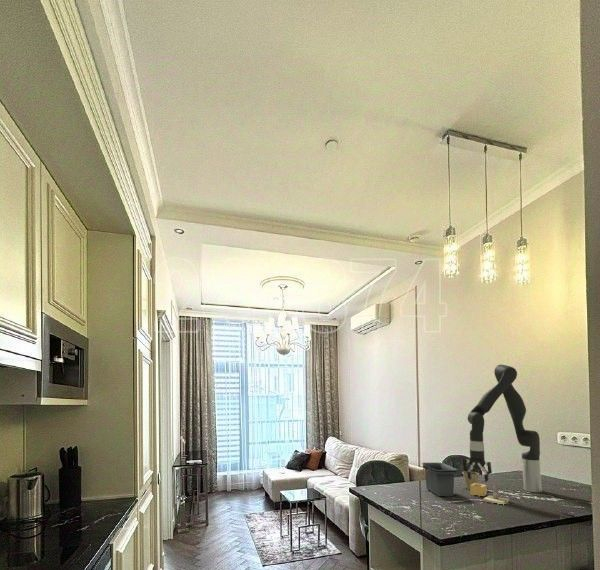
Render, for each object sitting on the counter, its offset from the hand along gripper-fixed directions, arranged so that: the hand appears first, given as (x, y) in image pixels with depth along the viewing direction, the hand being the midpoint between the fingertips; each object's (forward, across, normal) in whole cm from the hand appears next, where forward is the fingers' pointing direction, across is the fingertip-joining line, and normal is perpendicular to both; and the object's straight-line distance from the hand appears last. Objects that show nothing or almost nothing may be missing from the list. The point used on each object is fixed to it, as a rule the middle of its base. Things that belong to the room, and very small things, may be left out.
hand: (478, 480), depth 263 cm
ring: (+7, 0, -1) cm, 7 cm away
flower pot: (+8, +8, -13) cm, 17 cm away
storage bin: (+8, +18, +11) cm, 23 cm away
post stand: (+8, -12, +8) cm, 16 cm away
